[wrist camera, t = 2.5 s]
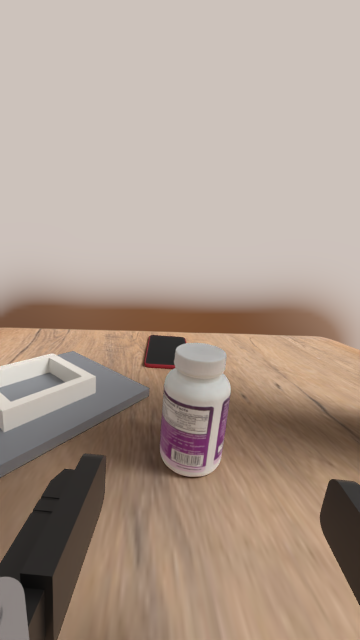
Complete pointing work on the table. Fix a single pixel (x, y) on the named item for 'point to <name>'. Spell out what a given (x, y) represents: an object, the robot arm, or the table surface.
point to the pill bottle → (195, 410)
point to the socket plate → (56, 403)
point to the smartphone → (162, 351)
